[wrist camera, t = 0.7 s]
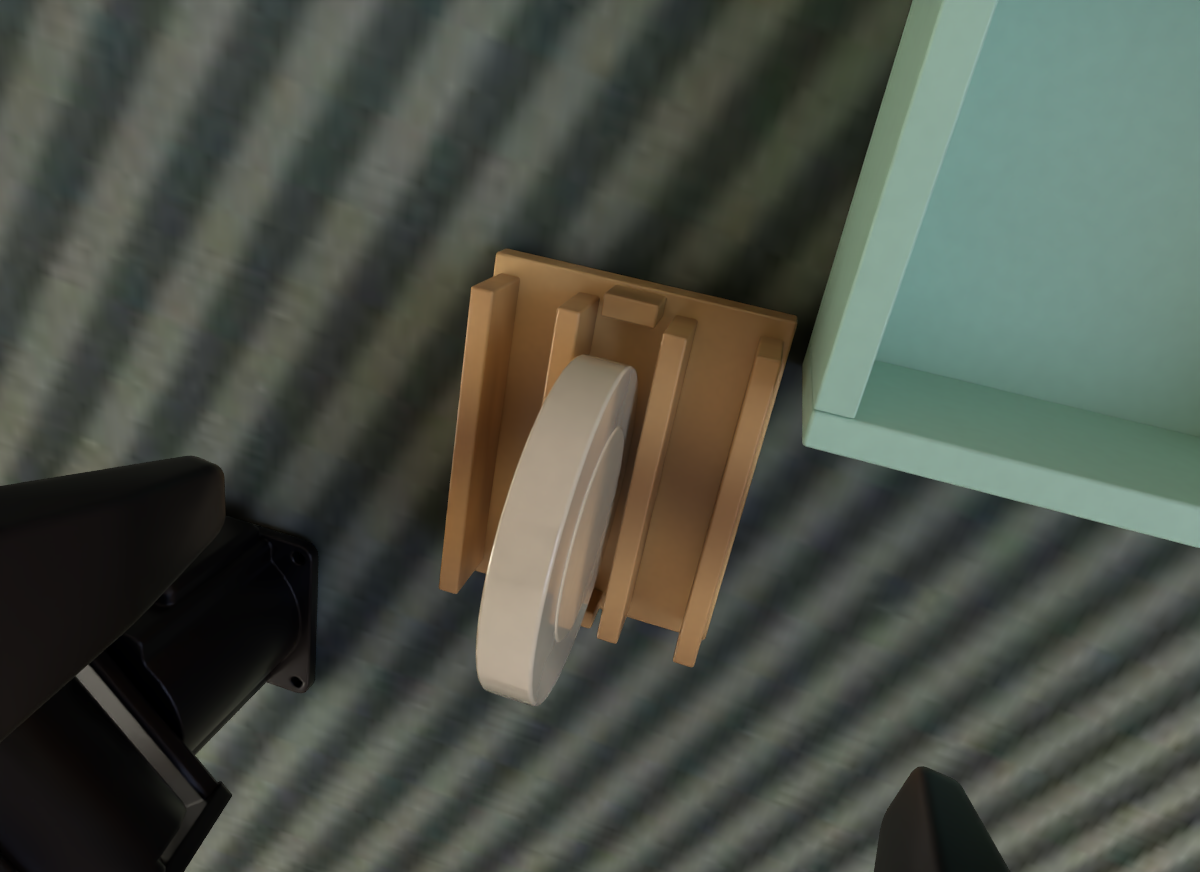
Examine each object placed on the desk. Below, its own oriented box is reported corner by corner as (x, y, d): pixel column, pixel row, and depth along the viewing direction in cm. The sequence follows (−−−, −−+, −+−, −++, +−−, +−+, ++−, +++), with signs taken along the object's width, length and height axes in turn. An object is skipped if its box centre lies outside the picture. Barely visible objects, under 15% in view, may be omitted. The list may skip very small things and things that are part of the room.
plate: (603, 582, 23) (511, 789, 16) (563, 570, 23) (454, 769, 16) (657, 329, 20) (574, 443, 12) (610, 317, 20) (500, 423, 13)
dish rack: (707, 625, 23) (696, 685, 21) (467, 553, 25) (429, 601, 22) (798, 315, 19) (797, 343, 17) (505, 247, 21) (464, 263, 18)
